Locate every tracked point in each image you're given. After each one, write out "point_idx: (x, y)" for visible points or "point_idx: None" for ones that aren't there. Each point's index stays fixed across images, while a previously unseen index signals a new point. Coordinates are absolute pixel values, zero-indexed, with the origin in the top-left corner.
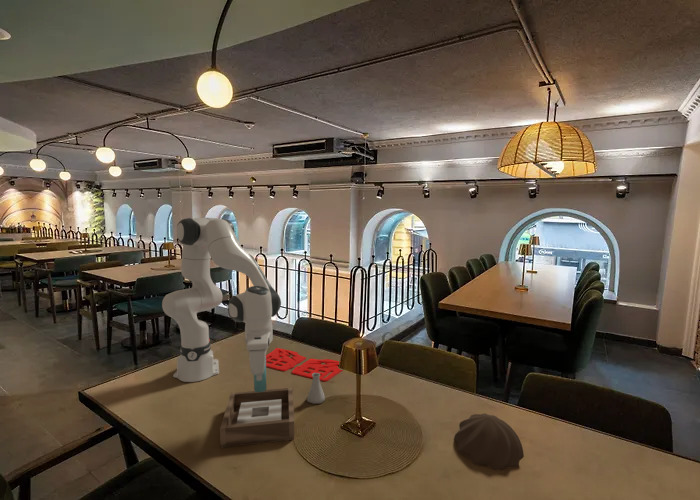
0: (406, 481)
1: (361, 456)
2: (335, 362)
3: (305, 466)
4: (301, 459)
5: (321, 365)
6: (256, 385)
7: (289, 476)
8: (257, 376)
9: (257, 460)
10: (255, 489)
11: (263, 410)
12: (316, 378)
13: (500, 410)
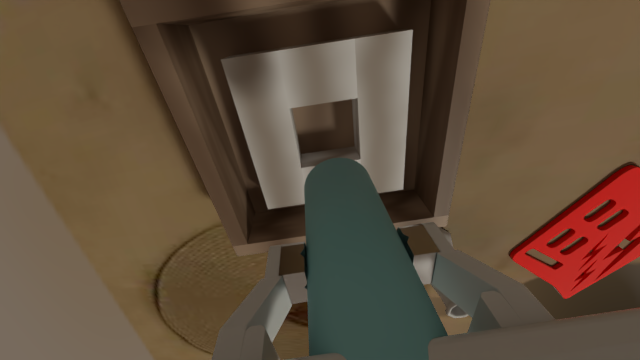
0: (172, 349)
1: (214, 313)
2: (606, 268)
3: (161, 247)
4: (180, 239)
5: (612, 242)
6: (309, 198)
7: (119, 225)
8: (266, 277)
9: (145, 151)
10: (44, 168)
11: (356, 135)
12: (446, 303)
13: None
